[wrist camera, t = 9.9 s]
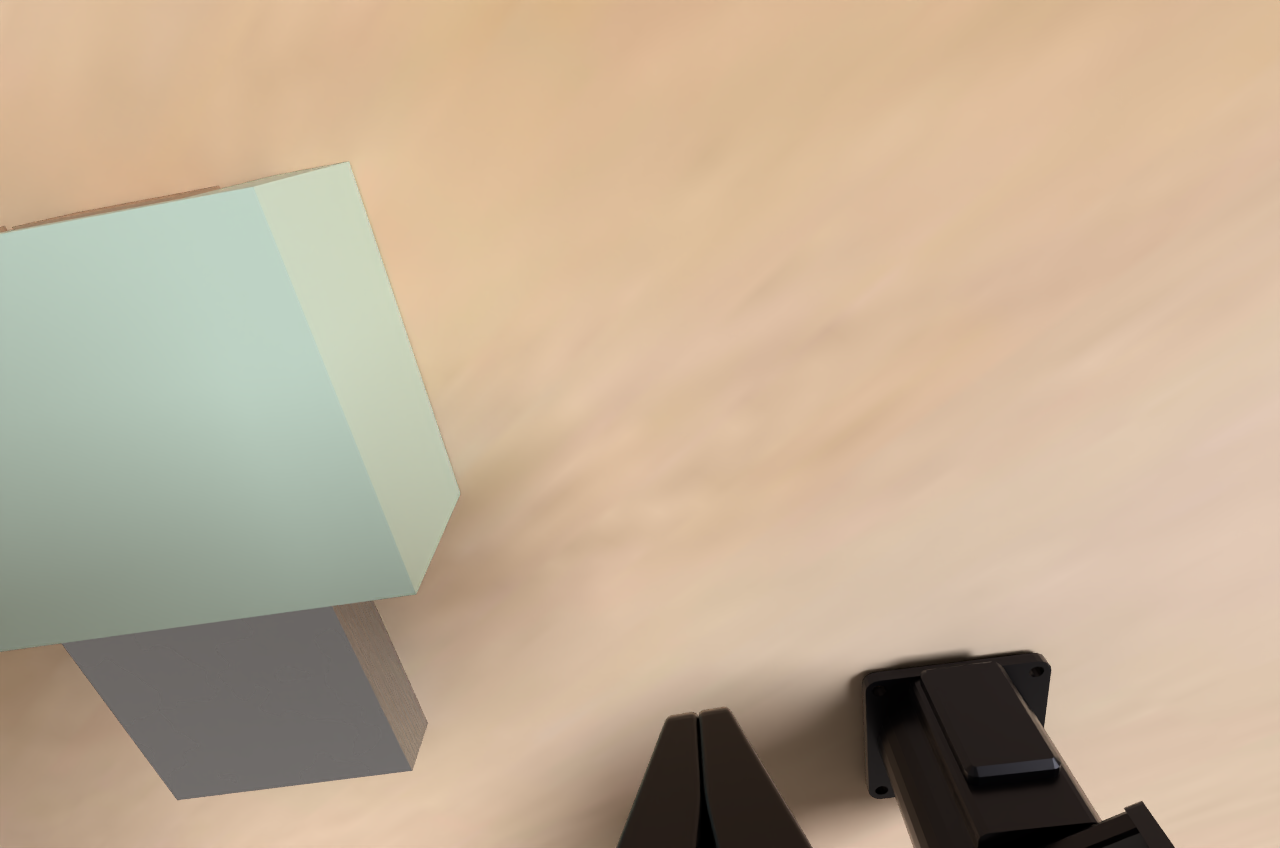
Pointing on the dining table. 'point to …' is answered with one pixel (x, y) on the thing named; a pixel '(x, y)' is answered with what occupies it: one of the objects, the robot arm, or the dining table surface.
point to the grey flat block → (261, 699)
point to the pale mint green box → (208, 414)
